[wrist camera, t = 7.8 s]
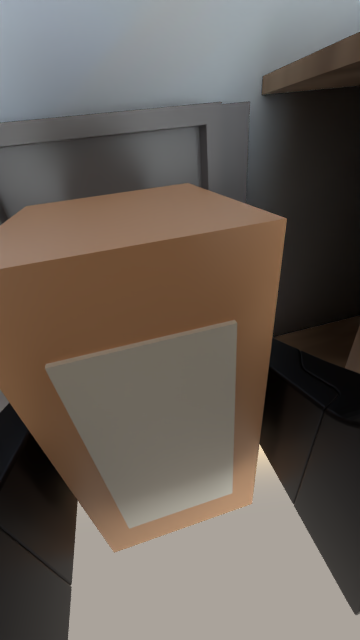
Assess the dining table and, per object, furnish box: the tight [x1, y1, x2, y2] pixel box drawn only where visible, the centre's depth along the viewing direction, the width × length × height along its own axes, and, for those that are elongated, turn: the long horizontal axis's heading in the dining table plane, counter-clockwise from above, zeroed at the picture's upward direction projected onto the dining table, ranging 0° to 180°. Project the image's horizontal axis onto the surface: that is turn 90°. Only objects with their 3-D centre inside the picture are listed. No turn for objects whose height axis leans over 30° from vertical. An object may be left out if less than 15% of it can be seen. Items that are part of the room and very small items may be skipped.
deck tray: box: [0, 102, 250, 412], centre depth 12 cm, size 14×15×5 cm
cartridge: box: [0, 183, 287, 552], centre depth 8 cm, size 9×4×5 cm, turn 6°
